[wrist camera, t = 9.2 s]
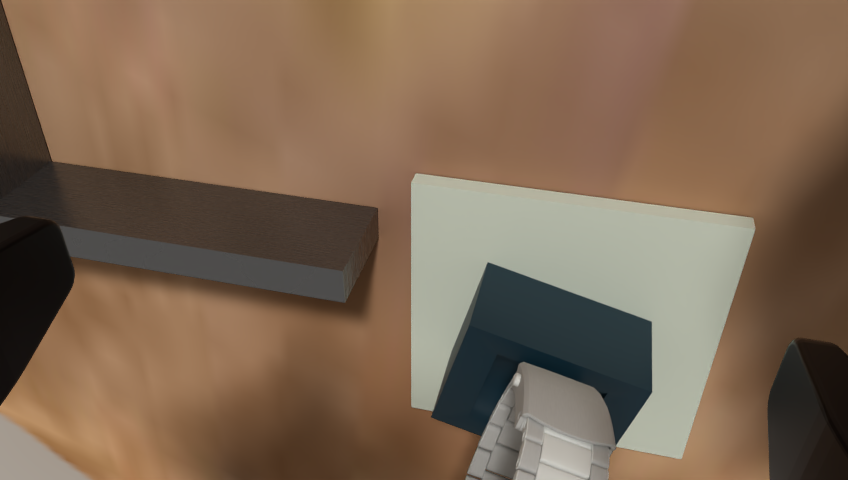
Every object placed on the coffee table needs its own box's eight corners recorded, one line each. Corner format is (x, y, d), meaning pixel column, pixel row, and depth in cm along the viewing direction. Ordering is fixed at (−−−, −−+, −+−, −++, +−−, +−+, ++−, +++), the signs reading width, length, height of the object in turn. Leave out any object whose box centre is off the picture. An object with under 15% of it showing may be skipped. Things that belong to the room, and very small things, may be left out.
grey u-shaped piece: (363, -232, 17) (309, -222, 15) (378, 237, 25) (344, 303, 22) (-116, -245, 20) (-240, -238, 17) (32, 185, 28) (-37, 238, 25)
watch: (437, 386, 28) (339, 697, 19) (505, 219, 23) (416, 532, 14) (580, 440, 27) (548, 778, 19) (679, 282, 23) (700, 640, 14)
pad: (752, 217, 21) (755, 229, 21) (680, 446, 27) (681, 459, 27) (416, 173, 23) (411, 182, 23) (415, 395, 29) (411, 407, 29)
